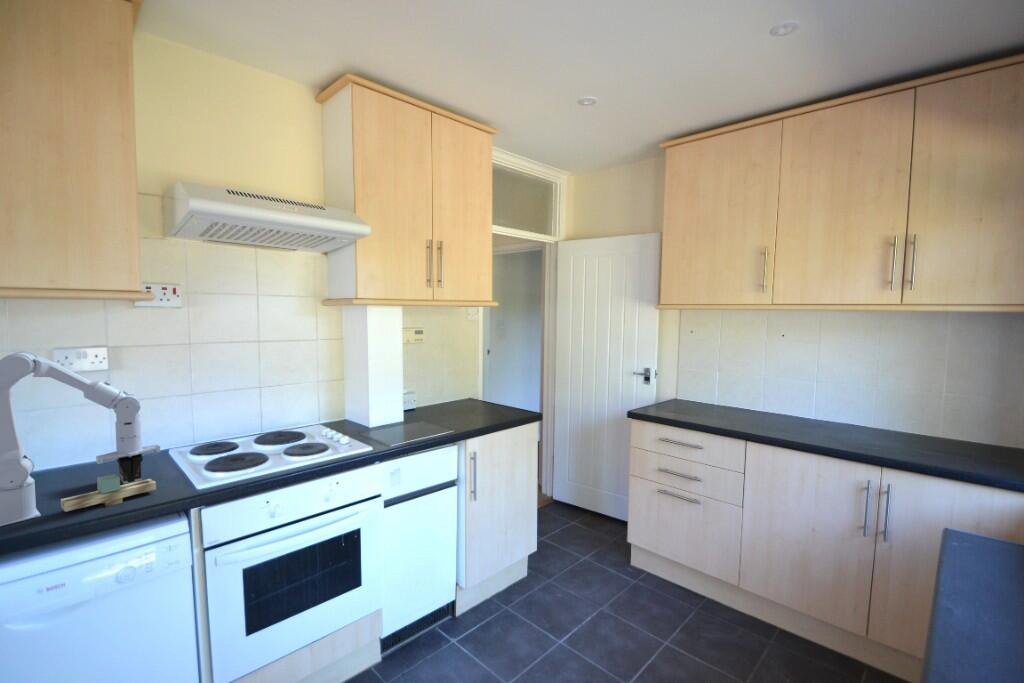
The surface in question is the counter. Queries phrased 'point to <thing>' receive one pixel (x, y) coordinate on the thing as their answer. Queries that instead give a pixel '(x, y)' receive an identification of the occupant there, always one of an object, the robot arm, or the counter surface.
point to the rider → (108, 483)
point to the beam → (107, 495)
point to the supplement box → (123, 477)
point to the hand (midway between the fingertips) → (130, 481)
